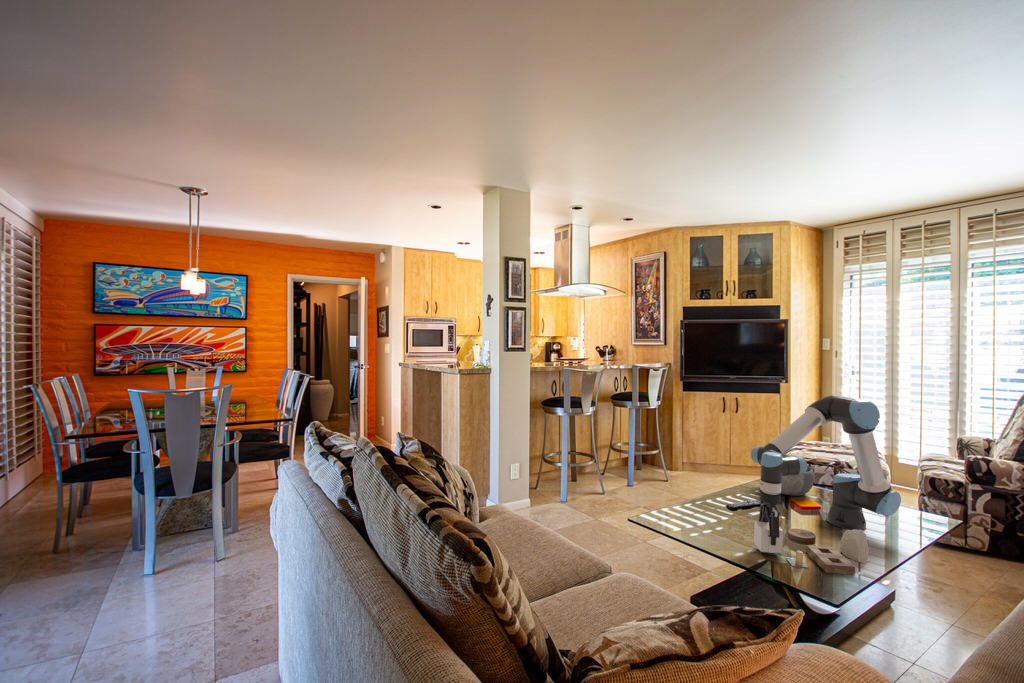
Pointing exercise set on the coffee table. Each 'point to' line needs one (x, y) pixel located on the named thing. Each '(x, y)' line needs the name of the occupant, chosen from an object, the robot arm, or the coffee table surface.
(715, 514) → the coffee table surface
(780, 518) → the pin
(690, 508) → the coffee table surface
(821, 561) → the socket board
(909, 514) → the coffee table surface
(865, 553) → the stone
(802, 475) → the bowl
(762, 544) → the cube
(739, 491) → the coffee table surface
